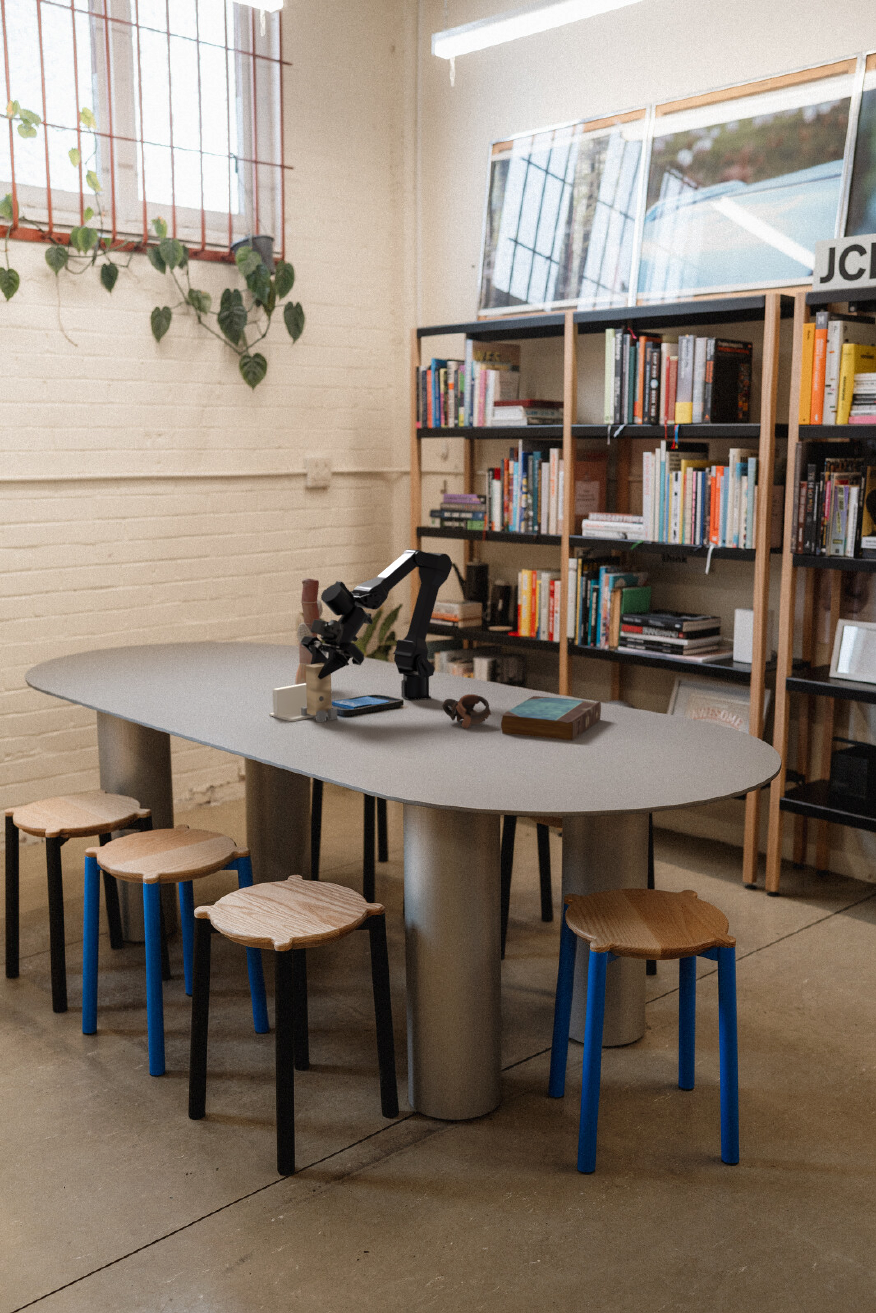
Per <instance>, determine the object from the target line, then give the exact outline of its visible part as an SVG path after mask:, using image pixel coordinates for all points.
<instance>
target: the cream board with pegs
mask: <svg viewBox="0 0 876 1313" xmlns="http://www.w3.org/2000/svg"><path fill="white" fill-rule="evenodd" d="M272 707H273V708H272V709H273V711H272V712H270V713H268V716H269V715H270V716H269V717H272V716H273V718H277V719H281V720H284V721H289V722H296V721H302V720H306V719H307V720H308V719H311V718H316V719H315V720H316V723H317V722H318V723H322V721H323V722H326V721H327V720H330V719H331V721H332V719H333V720H337V719H338V708H337V707H332V708H331V709H328V714H326V711H324V710H321V711H316V716H315V715H311V714H307V693H306V683H304V684H298V685H295V684H292V685H287V686H282V687H277V688H272Z"/></svg>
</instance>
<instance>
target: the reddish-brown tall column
mask: <svg viewBox="0 0 876 1313" xmlns="http://www.w3.org/2000/svg"><path fill="white" fill-rule="evenodd" d="M301 583H302V591H301V592H302V593H301V601H300V602H301V606H302V607H301V608H302V614H303V622H301V623H299V625H298V627H297V630H296V631H297V632H296V637H297V639H298V642H299V643H298V651H299V652H298V653H299V656H298V658H299V664H298V667H297V669H296V674H295V681H294V682H295V684H294V685H298V684H304V683H306V665H310V664H311V660H312V654H311V653H310V652H309V651H308V650H307V649H306V648H305V647H304V646H303V645H302V644H301V641H302V639H303V638H304V636H314V637H317V638H318V635H319V634H316V633H312V632H310V630H311V627H312V624H313V621H314V619H315V620H320V618H321V617H322V615H323V612H324V611H323V604H322V600H320V599H318V595H319V588H320V581H319V579H314V578H307V577H306V578H303V579H302V581H301Z"/></svg>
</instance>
